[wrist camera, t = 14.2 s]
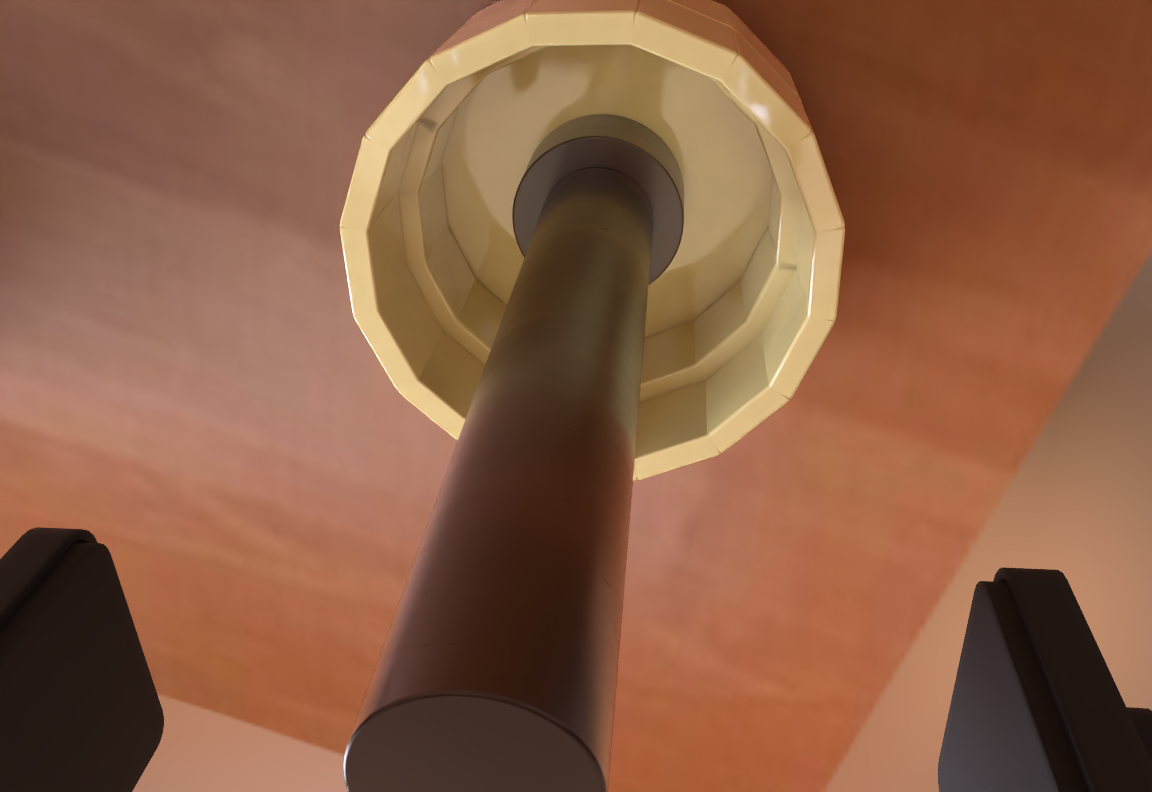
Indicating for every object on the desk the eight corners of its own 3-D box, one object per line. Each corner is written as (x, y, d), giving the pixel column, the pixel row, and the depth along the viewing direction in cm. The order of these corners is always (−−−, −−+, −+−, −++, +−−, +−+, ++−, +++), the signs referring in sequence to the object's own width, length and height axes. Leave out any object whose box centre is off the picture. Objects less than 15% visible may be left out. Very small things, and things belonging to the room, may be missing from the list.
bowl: (827, -37, 23) (868, 5, 18) (795, 362, 28) (820, 486, 23) (387, -27, 24) (306, 16, 19) (431, 357, 29) (376, 475, 24)
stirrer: (685, 112, 24) (684, 643, 9) (682, 269, 26) (677, 931, 11) (518, 114, 25) (234, 625, 9) (528, 268, 27) (306, 906, 11)
